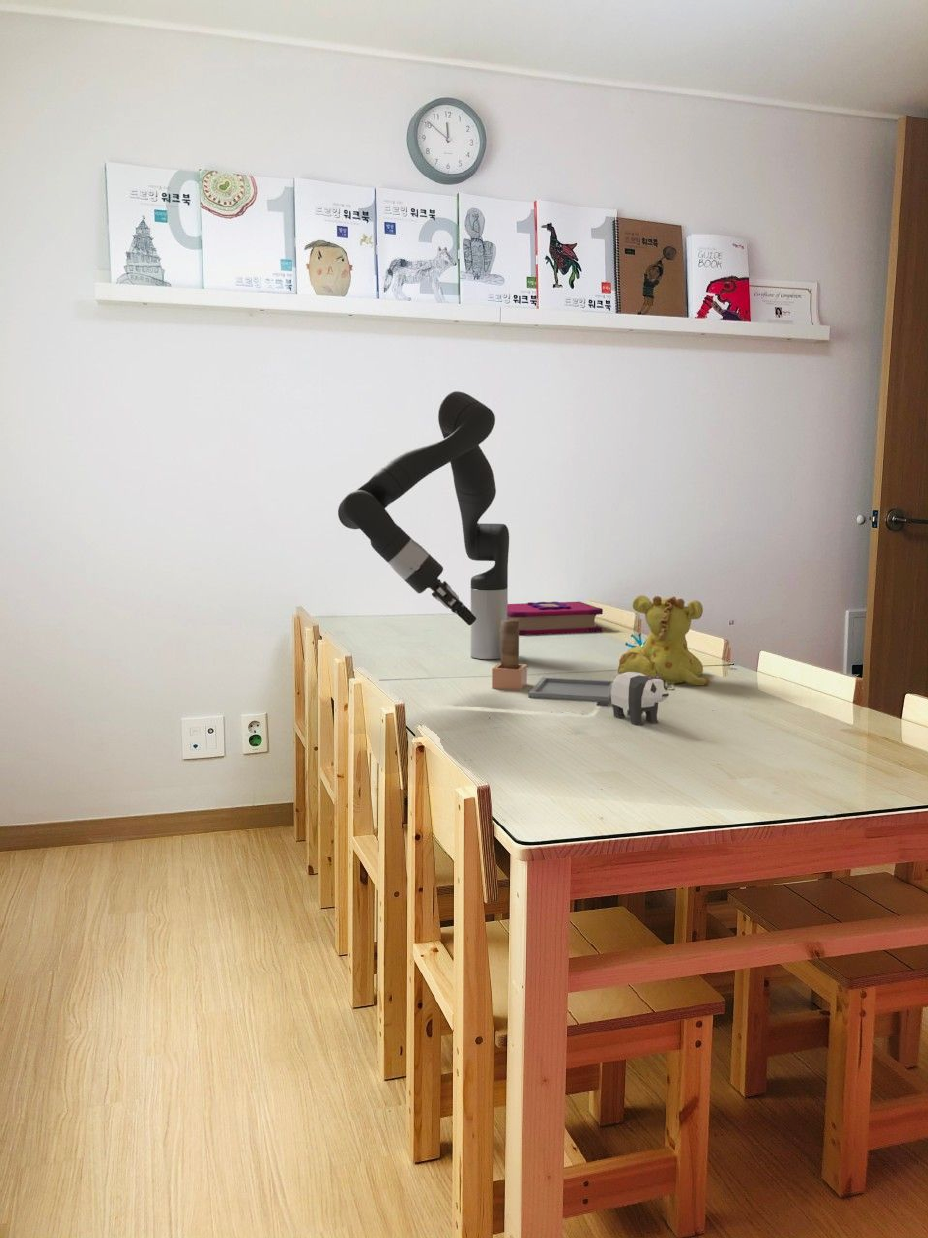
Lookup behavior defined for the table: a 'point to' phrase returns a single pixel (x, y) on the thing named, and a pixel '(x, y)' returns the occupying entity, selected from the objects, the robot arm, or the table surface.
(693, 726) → the table surface
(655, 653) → the giraffe plush
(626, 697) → the giant panda
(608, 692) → the tray
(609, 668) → the table surface
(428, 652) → the table surface
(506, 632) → the dowel
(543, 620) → the book
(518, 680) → the pencil cup
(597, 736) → the table surface
